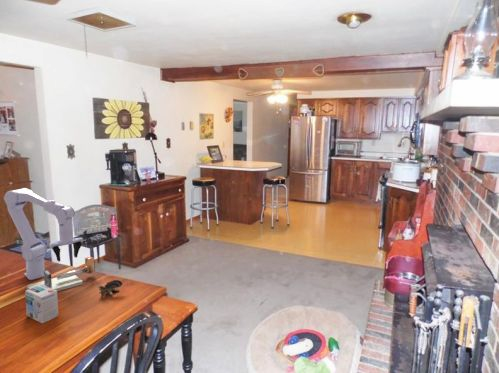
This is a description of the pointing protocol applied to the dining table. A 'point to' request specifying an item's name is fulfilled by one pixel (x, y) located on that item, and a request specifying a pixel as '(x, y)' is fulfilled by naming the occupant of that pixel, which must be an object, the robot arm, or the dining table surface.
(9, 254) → the dining table surface
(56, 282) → the eye stand
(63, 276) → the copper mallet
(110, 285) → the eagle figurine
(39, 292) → the light bulb box
